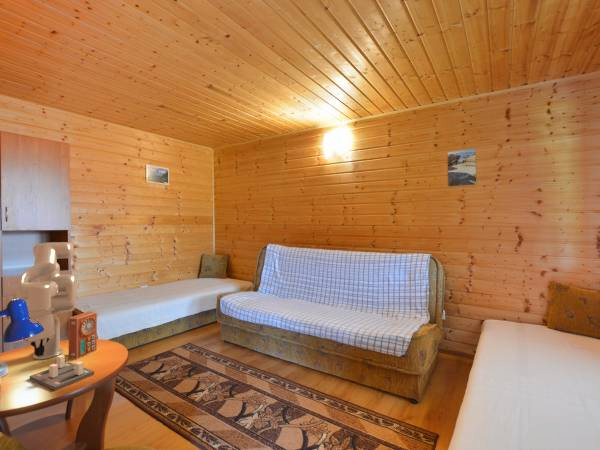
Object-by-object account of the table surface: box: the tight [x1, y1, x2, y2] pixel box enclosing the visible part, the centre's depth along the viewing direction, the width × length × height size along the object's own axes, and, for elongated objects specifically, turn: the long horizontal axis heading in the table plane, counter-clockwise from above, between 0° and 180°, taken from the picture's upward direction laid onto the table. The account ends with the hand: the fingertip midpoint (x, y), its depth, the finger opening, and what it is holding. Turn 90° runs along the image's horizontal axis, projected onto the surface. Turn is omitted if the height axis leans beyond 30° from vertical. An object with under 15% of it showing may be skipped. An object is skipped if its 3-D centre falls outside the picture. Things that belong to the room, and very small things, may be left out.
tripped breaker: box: [48, 363, 58, 378], centre depth 141 cm, size 3×2×5 cm, turn 64°
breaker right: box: [74, 360, 84, 375], centre depth 143 cm, size 3×2×5 cm, turn 64°
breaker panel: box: [29, 361, 95, 391], centre depth 144 cm, size 21×16×2 cm
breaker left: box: [56, 354, 66, 368], centre depth 150 cm, size 3×2×5 cm, turn 64°
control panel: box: [68, 310, 98, 360], centre depth 169 cm, size 21×7×15 cm
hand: (39, 355), depth 135 cm, fingers closed
